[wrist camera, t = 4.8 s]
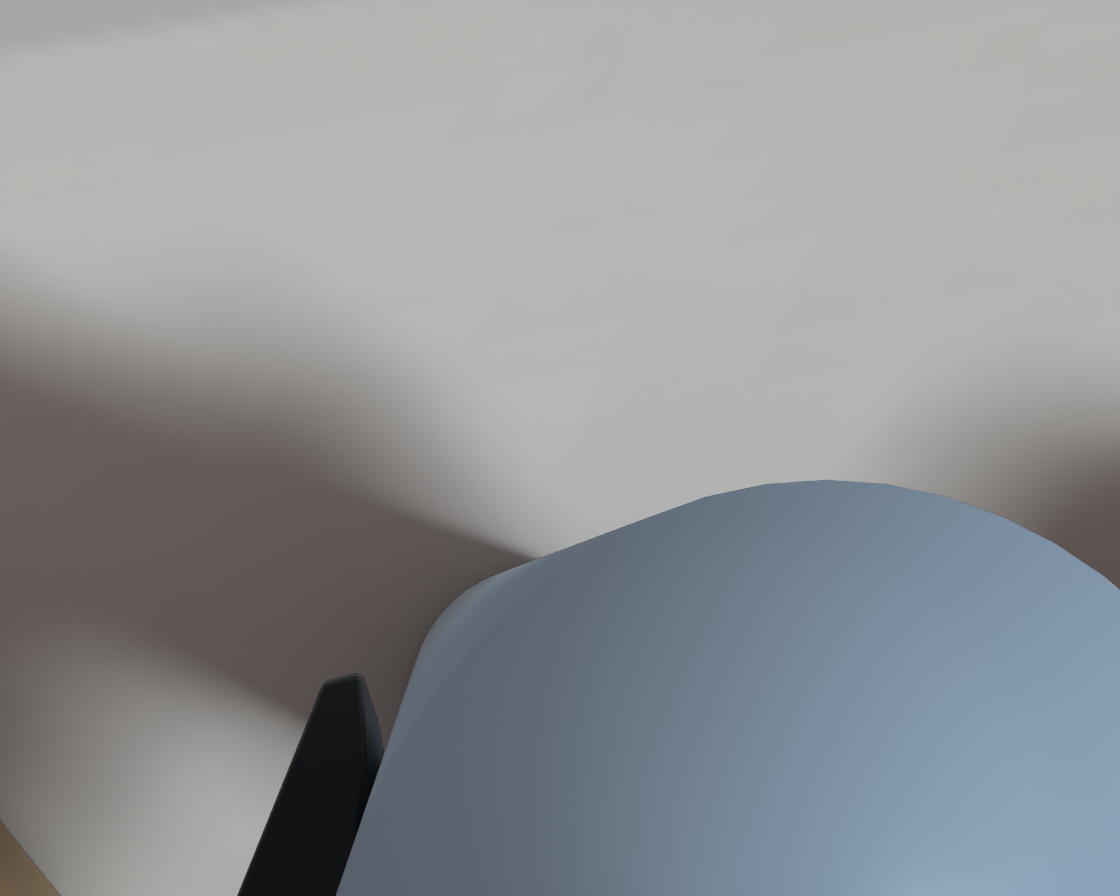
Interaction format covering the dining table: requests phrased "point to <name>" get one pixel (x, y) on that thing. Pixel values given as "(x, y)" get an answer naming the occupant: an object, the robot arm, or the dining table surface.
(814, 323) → the dining table surface
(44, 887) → the wooden compartment tray
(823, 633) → the blue-grey round cylinder
